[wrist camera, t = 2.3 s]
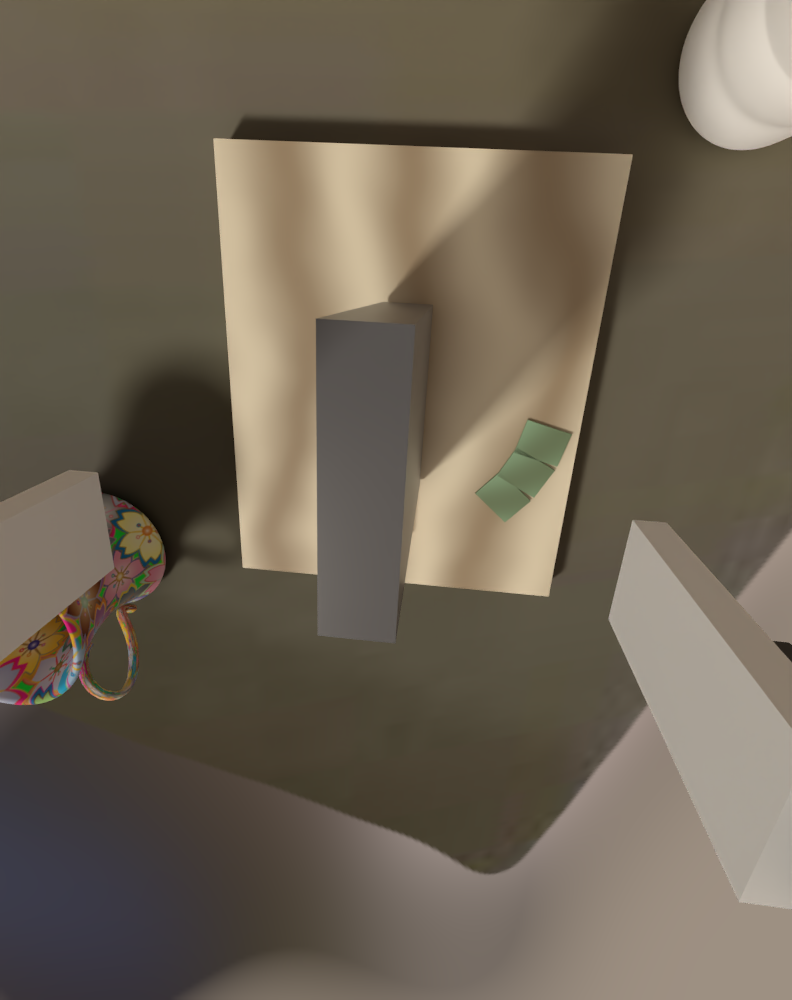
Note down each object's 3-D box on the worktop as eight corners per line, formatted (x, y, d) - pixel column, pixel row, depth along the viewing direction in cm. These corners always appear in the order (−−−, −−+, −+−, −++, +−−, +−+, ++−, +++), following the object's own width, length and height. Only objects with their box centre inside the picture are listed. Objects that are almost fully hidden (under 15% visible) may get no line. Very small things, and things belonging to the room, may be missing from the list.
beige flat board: (250, 556, 36) (242, 568, 35) (225, 145, 27) (212, 137, 26) (544, 584, 35) (548, 597, 33) (623, 161, 26) (634, 153, 24)
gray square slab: (373, 540, 33) (318, 726, 19) (383, 301, 27) (315, 318, 14) (415, 544, 33) (389, 734, 19) (432, 304, 27) (415, 324, 14)
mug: (24, 530, 37) (-128, 617, 27) (103, 454, 34) (-34, 522, 25) (148, 645, 40) (51, 761, 30) (231, 584, 37) (153, 690, 28)
